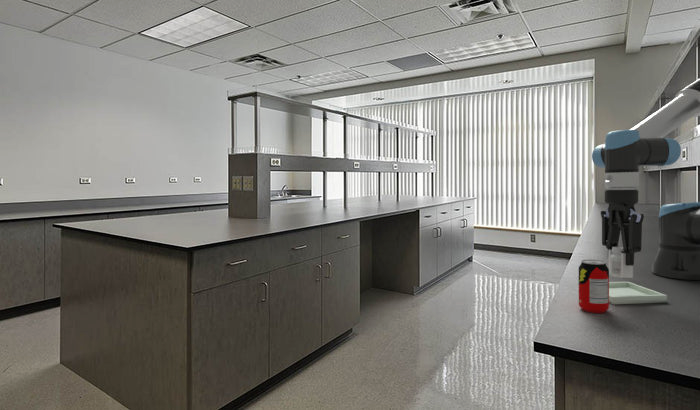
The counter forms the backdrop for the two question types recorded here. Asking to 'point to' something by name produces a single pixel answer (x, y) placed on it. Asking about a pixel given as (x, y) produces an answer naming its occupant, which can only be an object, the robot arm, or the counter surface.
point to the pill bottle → (616, 262)
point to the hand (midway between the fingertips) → (620, 274)
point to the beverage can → (594, 286)
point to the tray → (633, 294)
